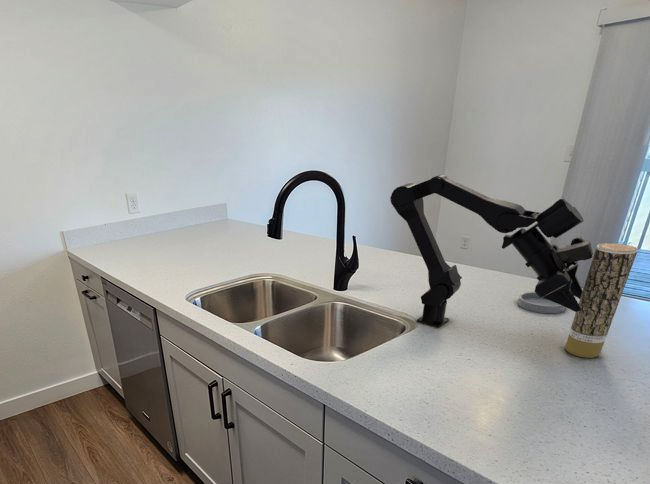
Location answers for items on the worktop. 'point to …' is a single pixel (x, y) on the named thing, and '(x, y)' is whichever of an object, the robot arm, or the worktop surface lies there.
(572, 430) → the worktop surface
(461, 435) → the worktop surface
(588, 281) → the paper tube
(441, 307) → the robot arm
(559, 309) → the stand
